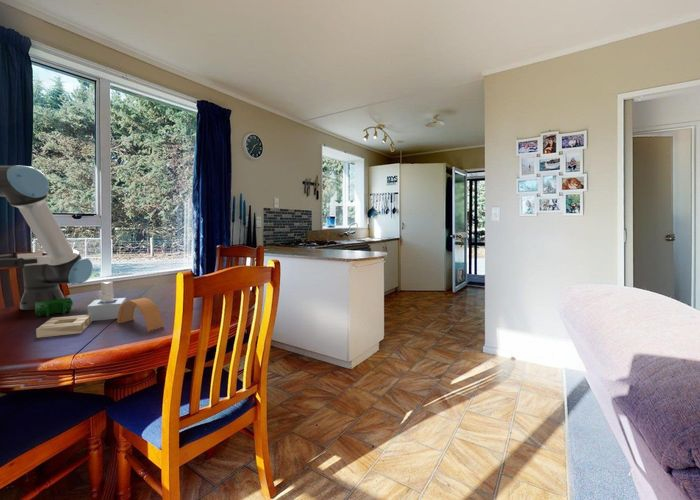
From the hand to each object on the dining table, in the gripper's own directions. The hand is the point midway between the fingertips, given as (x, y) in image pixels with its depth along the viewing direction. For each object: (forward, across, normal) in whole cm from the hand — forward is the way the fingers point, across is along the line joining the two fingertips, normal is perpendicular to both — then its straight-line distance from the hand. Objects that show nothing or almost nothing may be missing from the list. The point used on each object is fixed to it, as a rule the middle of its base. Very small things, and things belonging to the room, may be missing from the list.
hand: (46, 257), depth 119 cm
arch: (+22, +19, -26) cm, 39 cm away
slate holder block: (+18, -4, -26) cm, 32 cm away
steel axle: (+18, -4, -26) cm, 32 cm away
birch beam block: (+3, +5, -26) cm, 27 cm away
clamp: (+4, -23, -27) cm, 35 cm away
